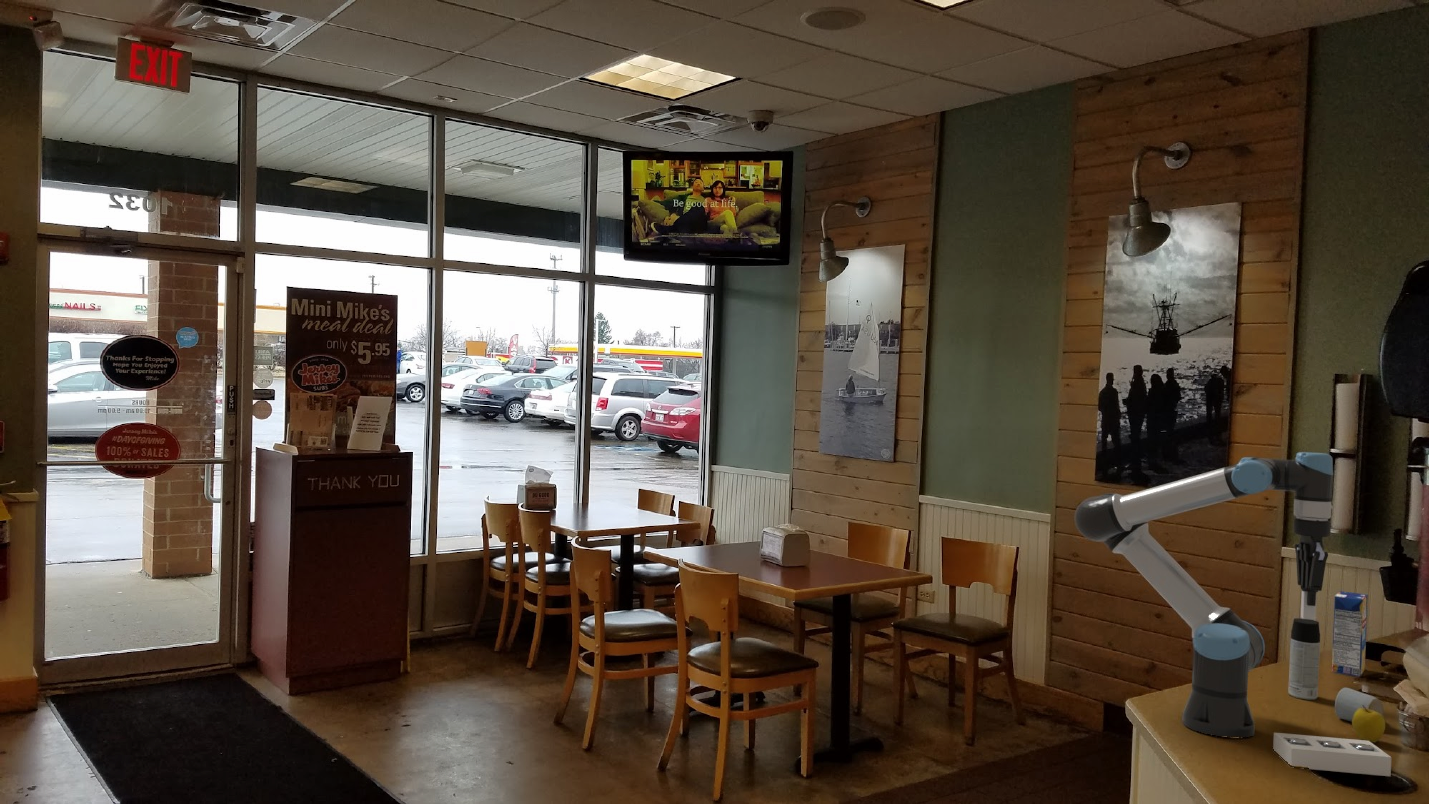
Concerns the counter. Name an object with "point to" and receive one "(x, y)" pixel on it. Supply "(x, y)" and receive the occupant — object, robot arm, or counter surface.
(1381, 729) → the apple
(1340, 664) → the beverage box
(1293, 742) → the knob
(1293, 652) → the spray can
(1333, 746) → the knob mid
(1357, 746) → the knob
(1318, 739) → the console
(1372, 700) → the ceramic mug
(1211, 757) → the counter surface
